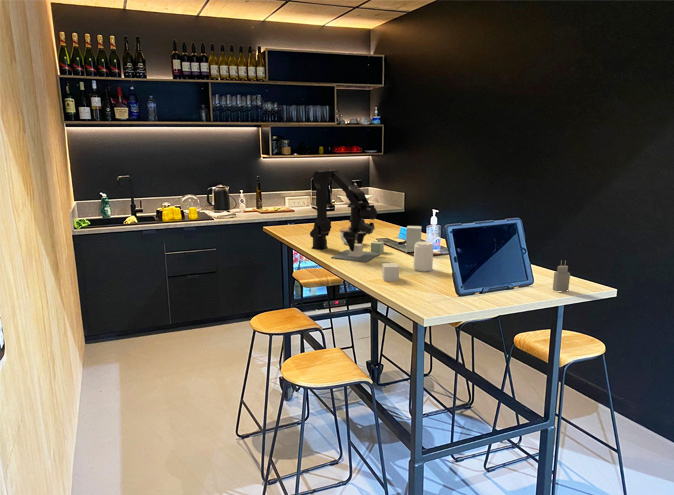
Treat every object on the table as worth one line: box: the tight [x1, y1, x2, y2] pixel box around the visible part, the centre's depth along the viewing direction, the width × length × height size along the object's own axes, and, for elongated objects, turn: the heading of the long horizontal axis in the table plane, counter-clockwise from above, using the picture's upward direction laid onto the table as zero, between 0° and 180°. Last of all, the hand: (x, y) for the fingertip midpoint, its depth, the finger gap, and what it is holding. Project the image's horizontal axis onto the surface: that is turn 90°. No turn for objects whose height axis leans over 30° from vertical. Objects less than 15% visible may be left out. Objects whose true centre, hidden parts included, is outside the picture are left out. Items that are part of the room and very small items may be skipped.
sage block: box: [370, 240, 385, 254], centre depth 252 cm, size 5×5×5 cm
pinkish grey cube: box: [381, 262, 400, 282], centre depth 205 cm, size 6×6×6 cm
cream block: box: [348, 242, 364, 256], centre depth 243 cm, size 5×5×5 cm
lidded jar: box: [339, 225, 357, 245], centre depth 272 cm, size 11×11×9 cm
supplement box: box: [405, 225, 423, 254], centre depth 253 cm, size 7×7×13 cm
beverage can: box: [413, 240, 434, 272], centre depth 219 cm, size 8×8×12 cm
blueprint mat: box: [330, 249, 381, 263], centre depth 244 cm, size 18×18×1 cm
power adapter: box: [552, 259, 571, 292], centre depth 190 cm, size 3×5×12 cm, turn 106°
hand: (356, 249), depth 243 cm, fingers open, 9 cm apart
